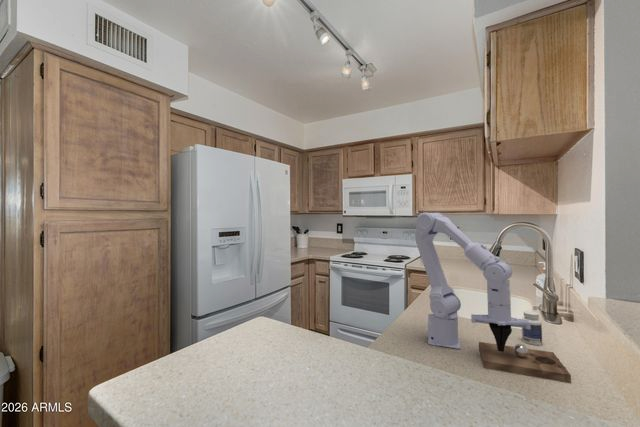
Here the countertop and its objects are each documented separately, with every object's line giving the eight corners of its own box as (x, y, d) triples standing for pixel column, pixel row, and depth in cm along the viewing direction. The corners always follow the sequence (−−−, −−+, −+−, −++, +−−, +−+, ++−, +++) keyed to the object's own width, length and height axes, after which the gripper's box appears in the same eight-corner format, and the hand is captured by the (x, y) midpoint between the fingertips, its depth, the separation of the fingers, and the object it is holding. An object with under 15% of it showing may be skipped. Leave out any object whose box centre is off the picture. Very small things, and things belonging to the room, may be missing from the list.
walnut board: (483, 367, 78) (483, 360, 78) (479, 348, 90) (478, 341, 90) (572, 383, 70) (571, 375, 70) (554, 359, 82) (553, 352, 82)
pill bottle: (546, 346, 91) (544, 315, 91) (527, 345, 92) (526, 314, 92) (536, 339, 96) (535, 310, 96) (519, 338, 97) (518, 309, 97)
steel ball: (515, 358, 79) (514, 345, 79) (512, 352, 82) (512, 340, 83) (530, 360, 78) (530, 347, 78) (527, 355, 81) (526, 342, 81)
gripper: (471, 304, 82) (473, 351, 82) (532, 310, 76) (534, 361, 76) (470, 298, 88) (471, 341, 88) (526, 302, 82) (527, 349, 82)
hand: (500, 350), depth 82 cm, fingers closed
